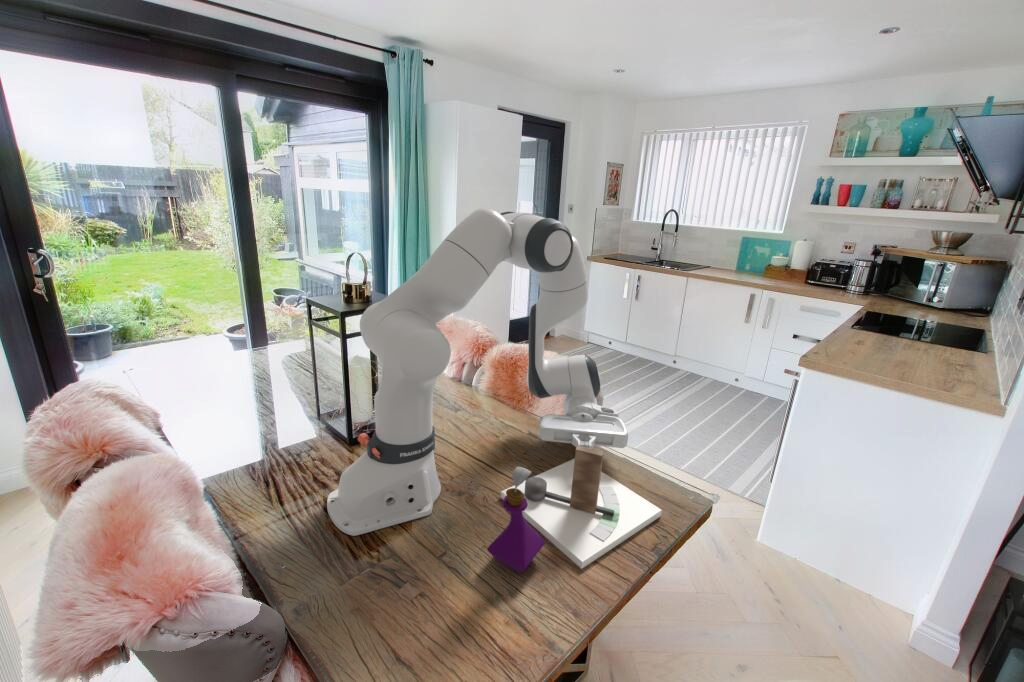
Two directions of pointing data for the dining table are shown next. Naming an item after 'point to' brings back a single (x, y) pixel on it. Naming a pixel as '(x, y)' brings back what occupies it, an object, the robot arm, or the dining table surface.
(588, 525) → the dial board
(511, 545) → the perfume bottle
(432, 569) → the dining table surface
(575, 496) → the lever
